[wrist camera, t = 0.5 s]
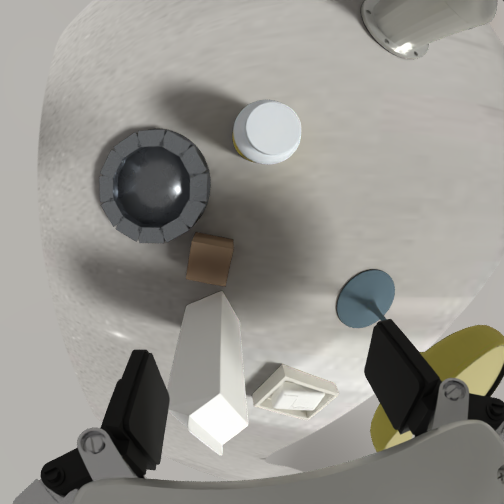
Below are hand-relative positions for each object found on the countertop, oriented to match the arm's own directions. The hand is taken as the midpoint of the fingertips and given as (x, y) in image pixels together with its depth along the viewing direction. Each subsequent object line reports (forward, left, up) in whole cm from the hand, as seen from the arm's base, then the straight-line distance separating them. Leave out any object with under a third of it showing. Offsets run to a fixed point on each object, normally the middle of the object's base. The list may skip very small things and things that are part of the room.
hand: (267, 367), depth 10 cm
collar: (+2, -12, -26) cm, 29 cm away
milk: (+14, +4, -26) cm, 30 cm away
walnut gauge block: (+6, -1, -26) cm, 27 cm away
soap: (+22, +26, -26) cm, 43 cm away
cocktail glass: (0, +24, -26) cm, 36 cm away
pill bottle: (-10, -4, -26) cm, 28 cm away
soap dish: (+22, +26, -26) cm, 43 cm away
